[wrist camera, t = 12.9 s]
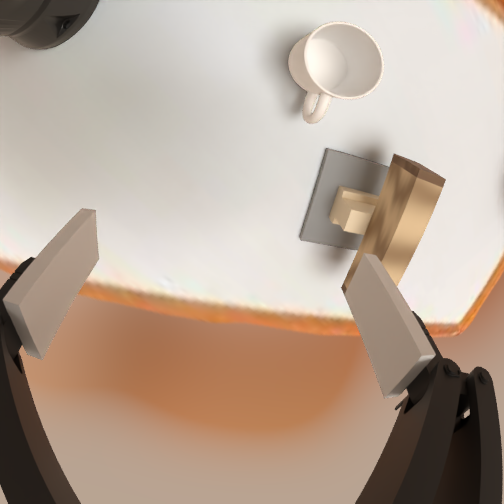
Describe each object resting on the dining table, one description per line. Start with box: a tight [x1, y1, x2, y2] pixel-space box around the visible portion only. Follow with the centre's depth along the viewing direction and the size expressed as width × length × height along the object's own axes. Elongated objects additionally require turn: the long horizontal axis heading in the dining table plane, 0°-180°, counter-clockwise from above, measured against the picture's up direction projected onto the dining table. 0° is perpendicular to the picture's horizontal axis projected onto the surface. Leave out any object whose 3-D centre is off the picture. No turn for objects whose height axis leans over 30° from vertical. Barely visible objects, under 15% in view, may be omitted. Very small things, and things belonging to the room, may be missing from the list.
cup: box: [288, 22, 384, 124], centre depth 27 cm, size 8×12×10 cm
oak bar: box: [341, 154, 446, 294], centre depth 33 cm, size 20×4×6 cm, turn 169°
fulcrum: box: [300, 148, 389, 250], centre depth 39 cm, size 14×16×7 cm
